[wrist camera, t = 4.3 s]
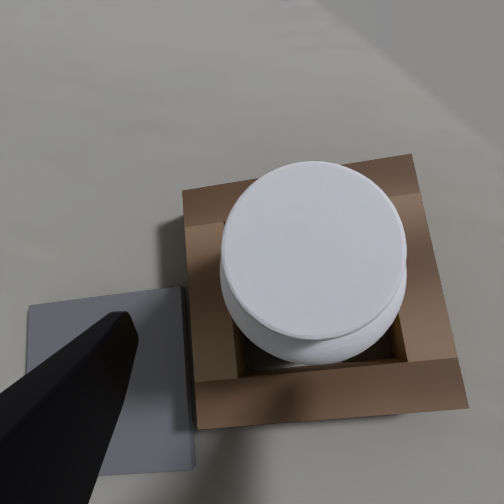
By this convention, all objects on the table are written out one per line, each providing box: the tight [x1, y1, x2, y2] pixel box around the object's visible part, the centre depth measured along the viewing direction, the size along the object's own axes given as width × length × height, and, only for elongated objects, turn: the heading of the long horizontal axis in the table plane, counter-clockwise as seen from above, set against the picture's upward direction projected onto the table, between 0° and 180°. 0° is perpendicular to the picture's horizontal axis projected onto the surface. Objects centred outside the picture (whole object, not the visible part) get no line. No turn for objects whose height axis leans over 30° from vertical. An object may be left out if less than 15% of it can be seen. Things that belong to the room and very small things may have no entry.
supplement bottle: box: [220, 161, 407, 365], centre depth 12 cm, size 5×5×10 cm
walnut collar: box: [182, 154, 469, 430], centre depth 16 cm, size 10×10×2 cm
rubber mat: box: [26, 286, 195, 476], centre depth 17 cm, size 8×8×1 cm
